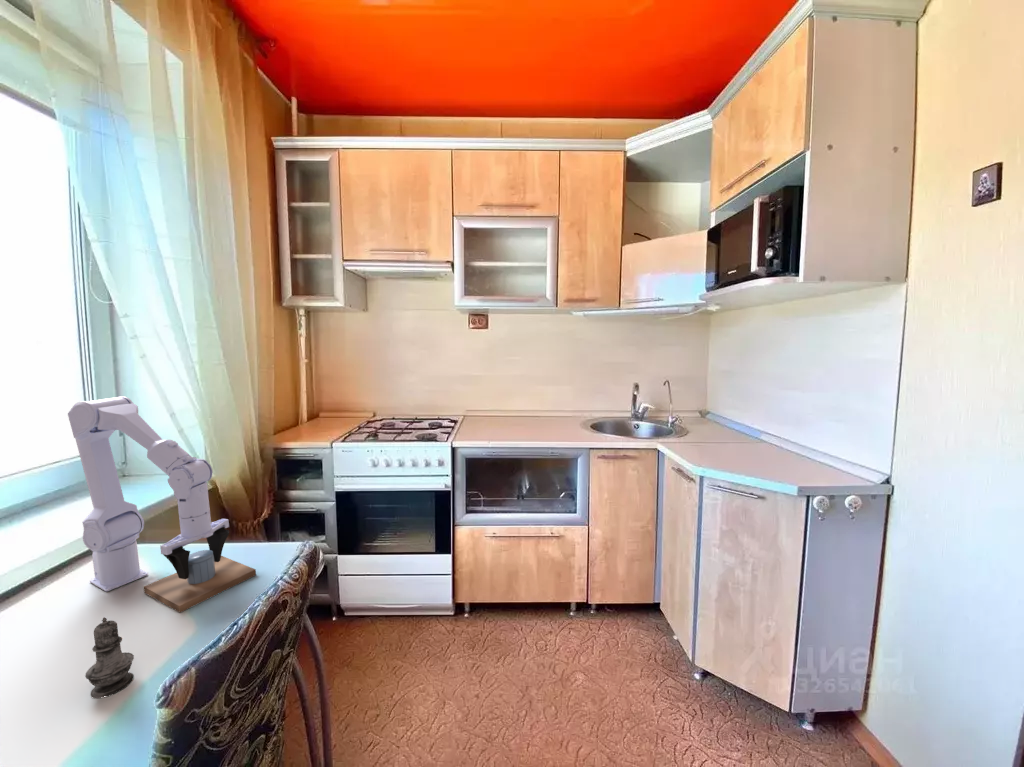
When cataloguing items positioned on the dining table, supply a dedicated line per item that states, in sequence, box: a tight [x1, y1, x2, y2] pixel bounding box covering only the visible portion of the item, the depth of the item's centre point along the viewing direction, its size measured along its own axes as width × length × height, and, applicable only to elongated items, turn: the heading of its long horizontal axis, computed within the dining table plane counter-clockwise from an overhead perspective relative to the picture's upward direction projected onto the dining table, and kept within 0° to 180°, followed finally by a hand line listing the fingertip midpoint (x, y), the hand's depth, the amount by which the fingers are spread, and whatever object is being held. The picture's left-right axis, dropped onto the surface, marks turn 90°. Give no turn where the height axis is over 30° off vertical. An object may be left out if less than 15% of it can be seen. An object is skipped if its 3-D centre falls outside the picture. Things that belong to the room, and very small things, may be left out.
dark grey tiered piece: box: [84, 616, 135, 699], centre depth 70 cm, size 6×6×12 cm
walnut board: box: [143, 555, 257, 613], centre depth 100 cm, size 16×16×4 cm
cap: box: [187, 549, 215, 584], centre depth 100 cm, size 5×5×6 cm
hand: (200, 569), depth 100 cm, fingers open, 7 cm apart
